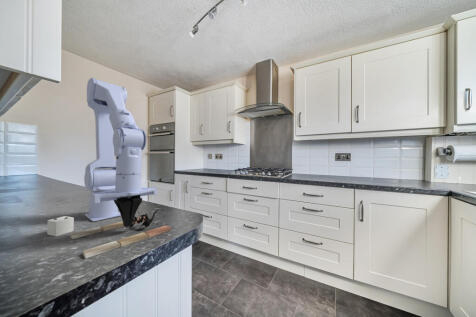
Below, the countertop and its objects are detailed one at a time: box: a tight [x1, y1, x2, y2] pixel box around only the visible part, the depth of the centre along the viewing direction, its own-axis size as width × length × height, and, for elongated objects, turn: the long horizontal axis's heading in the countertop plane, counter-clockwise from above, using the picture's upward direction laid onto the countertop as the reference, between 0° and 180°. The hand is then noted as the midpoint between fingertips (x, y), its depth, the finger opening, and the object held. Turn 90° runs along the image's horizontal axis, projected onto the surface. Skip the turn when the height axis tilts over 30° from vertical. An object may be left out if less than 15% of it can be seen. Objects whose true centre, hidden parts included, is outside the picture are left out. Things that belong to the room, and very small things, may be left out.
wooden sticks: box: [69, 216, 172, 259], centre depth 45 cm, size 15×18×1 cm
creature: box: [123, 209, 159, 232], centre depth 49 cm, size 8×5×8 cm
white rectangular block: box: [46, 215, 75, 237], centre depth 44 cm, size 4×4×4 cm
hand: (127, 225), depth 46 cm, fingers closed
